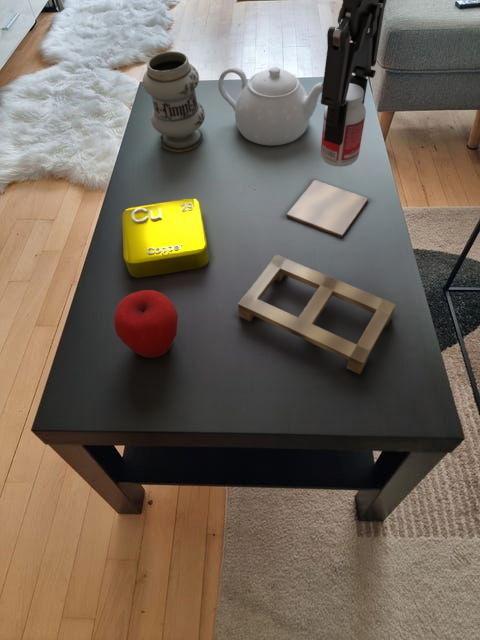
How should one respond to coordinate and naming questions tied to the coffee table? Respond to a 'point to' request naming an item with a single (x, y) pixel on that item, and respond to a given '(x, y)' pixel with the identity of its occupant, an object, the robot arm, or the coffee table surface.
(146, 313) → the apple
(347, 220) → the brown flat square
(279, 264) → the bottle rack
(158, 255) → the element tile
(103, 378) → the coffee table surface
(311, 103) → the teapot
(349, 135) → the pill bottle
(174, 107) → the apothecary jar
